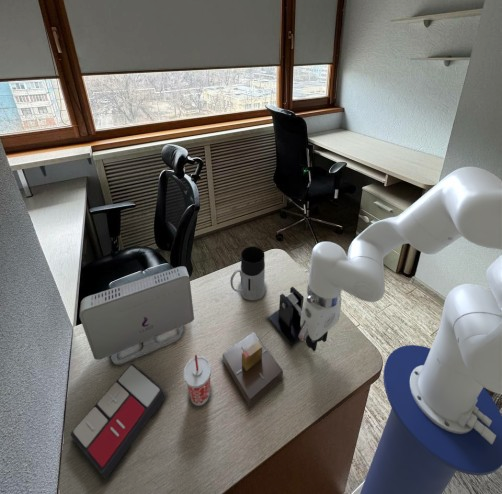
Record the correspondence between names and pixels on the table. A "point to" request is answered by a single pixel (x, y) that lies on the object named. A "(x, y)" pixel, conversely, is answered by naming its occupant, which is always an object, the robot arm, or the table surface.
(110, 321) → the network device
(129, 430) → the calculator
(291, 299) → the door lever
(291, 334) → the handle bracket
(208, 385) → the beverage cup
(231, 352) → the lock plate
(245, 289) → the glass holder
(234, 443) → the table surface
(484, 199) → the robot arm
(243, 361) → the thumb turn
